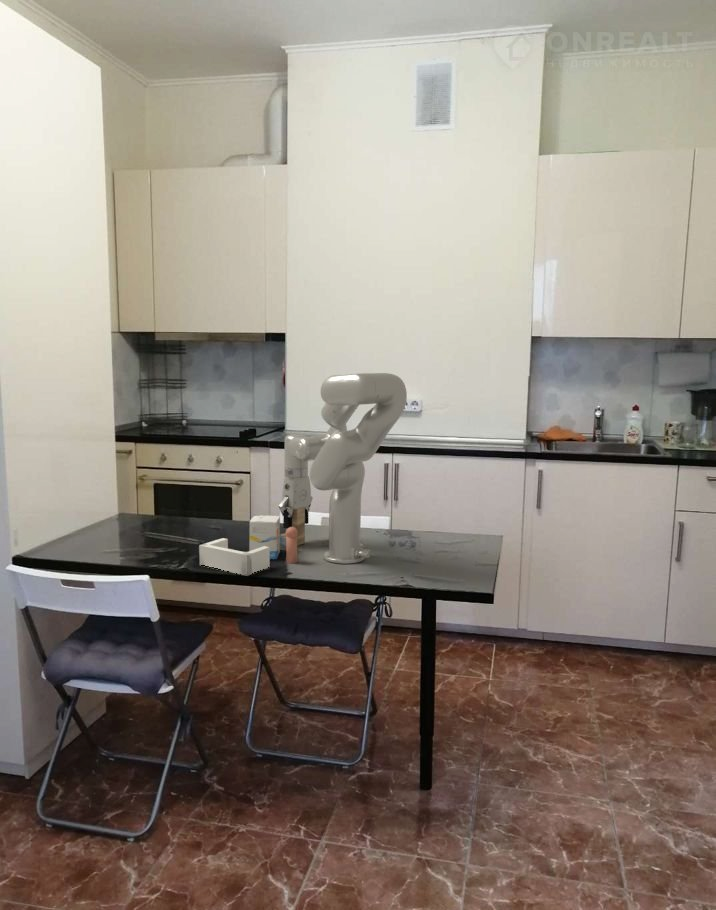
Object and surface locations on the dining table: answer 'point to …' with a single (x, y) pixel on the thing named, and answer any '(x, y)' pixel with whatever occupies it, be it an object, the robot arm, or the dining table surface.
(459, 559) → the dining table surface
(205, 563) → the frame
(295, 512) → the kicker
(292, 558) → the figure left
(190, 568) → the dining table surface
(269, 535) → the ink box
